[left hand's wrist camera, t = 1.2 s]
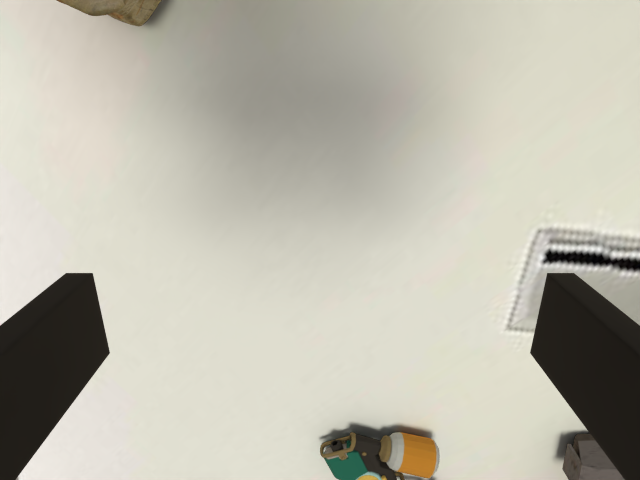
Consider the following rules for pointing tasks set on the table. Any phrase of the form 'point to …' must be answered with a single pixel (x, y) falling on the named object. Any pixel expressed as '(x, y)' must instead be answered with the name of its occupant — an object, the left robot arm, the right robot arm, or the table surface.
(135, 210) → the table surface
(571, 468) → the toy
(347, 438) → the spray gun
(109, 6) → the sculpture
